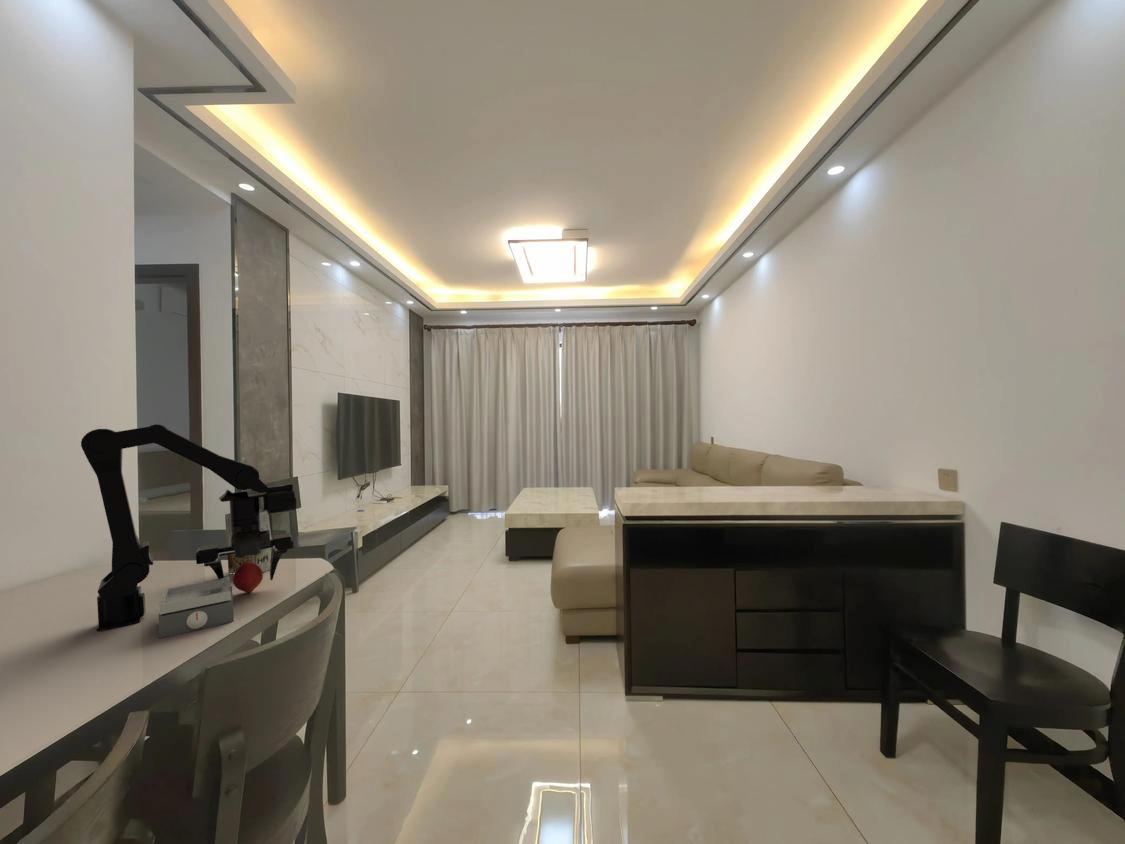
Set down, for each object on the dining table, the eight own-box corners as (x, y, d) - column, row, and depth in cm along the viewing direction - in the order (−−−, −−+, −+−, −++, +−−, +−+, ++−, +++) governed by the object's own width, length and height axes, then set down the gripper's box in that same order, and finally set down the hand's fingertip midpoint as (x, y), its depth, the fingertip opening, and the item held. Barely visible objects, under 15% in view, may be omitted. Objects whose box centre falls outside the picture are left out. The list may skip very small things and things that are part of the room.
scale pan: (160, 614, 90) (159, 605, 90) (165, 597, 99) (165, 588, 99) (231, 599, 97) (230, 590, 97) (230, 584, 106) (229, 576, 106)
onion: (239, 599, 109) (237, 564, 109) (229, 594, 112) (228, 560, 112) (267, 591, 113) (266, 557, 113) (257, 586, 117) (256, 553, 117)
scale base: (158, 639, 90) (157, 618, 90) (165, 618, 100) (164, 599, 99) (233, 622, 96) (232, 602, 96) (232, 603, 106) (231, 585, 106)
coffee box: (275, 567, 132) (273, 508, 132) (256, 575, 126) (253, 513, 125) (247, 566, 134) (244, 508, 133) (226, 574, 127) (223, 513, 127)
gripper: (193, 530, 100) (197, 605, 101) (295, 517, 111) (298, 584, 111) (195, 522, 109) (199, 590, 110) (289, 510, 120) (292, 572, 121)
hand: (248, 584), depth 113 cm, fingers open, 9 cm apart
